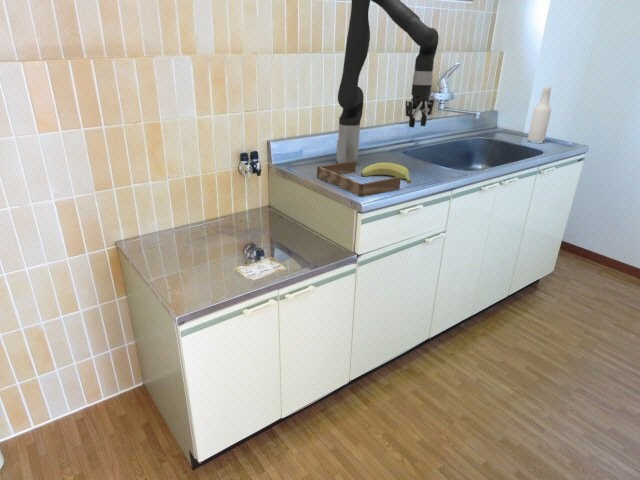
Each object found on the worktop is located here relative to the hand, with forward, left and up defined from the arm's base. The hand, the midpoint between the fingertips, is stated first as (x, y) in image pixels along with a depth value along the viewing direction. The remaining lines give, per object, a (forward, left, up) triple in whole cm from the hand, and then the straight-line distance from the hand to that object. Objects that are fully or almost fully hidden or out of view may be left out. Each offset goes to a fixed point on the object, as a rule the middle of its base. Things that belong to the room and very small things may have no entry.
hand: (417, 126), depth 187 cm
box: (0, -30, -20) cm, 36 cm away
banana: (+1, -14, -20) cm, 25 cm away
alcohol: (-12, +110, -20) cm, 112 cm away
